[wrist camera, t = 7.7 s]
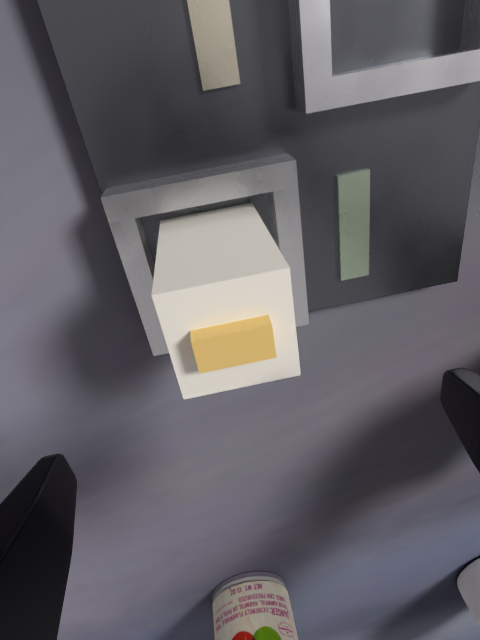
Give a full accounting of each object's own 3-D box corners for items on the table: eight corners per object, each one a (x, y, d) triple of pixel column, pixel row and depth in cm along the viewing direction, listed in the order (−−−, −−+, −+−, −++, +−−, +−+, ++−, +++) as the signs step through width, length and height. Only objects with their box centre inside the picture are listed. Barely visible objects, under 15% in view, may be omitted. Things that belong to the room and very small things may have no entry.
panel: (444, 271, 22) (475, 294, 20) (152, 331, 22) (149, 361, 19) (507, -252, 13) (581, -325, 10) (-9, -167, 12) (-53, -223, 10)
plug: (263, 284, 20) (305, 386, 13) (181, 300, 20) (184, 412, 13) (251, 202, 18) (295, 276, 11) (160, 220, 17) (150, 305, 11)
